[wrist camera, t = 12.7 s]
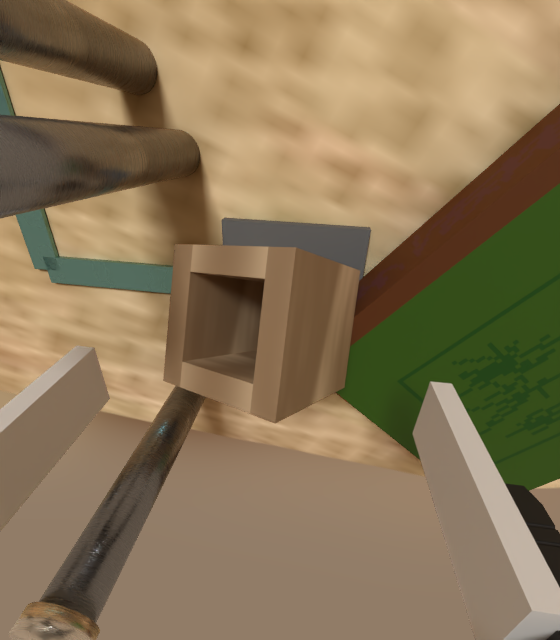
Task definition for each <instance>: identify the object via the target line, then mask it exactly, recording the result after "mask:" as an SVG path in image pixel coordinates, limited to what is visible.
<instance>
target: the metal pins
mask: <svg viewBox="0 0 560 640" xmlns="http://www.w3.org/2000/svg"><path fill="white" fill-rule="evenodd" d="M0 60H2V61H6V62H10V63H14V64H18V65H22V66H26V67H30V68H34V69H38V70H42V71H46V72H50V73H54V74H58V75H62V76H66V77H70V78H74V79H78V80H82V81H86V82H90V83H94V84H97V85H101V86H105V87H109V88H113V89H117V90H121V91H125V92H129V93H133V94H138V95H141V94H145V93H147V92H149V91H150V90H151V89H152V88H153V86H154V84H155V81H156V77H157V67H156V62H155V59H154V56H153V54H152V52H151V51H150V49H149V48H148V47H147V46H146V44H144V43H143V42H142V41H140V40H139V39H137V38H135V37H133V36H131V35H129V34H127V33H126V32H124V31H122V30H120V29H118V28H116V27H114V26H113V25H111V24H109V23H107V22H105V21H103V20H102V19H100V18H98V17H96V16H94V15H92V14H90V13H89V12H87V11H85V10H83V9H81V8H79V7H78V6H76V5H74V4H72V3H70V2H68V1H66V0H0ZM199 161H200V152H199V148H198V145H197V143H196V142H195V140H194V139H193V137H192V136H191V135H189V134H188V133H186V132H184V131H182V130H174V129H162V128H151V127H139V126H127V125H116V124H104V123H93V122H81V121H69V120H58V119H46V118H35V117H23V116H15V114H14V111H13V108H12V104H11V101H10V98H9V95H8V92H7V88H6V85H5V82H4V79H3V76H2V72H1V69H0V218H4V217H8V216H13V215H16V217H17V220H18V223H19V226H20V228H21V231H22V234H23V237H24V240H25V242H26V245H27V248H28V251H29V254H30V257H31V259H32V262H33V265H34V268H35V269H44V270H48V273H49V276H50V279H51V282H52V283H63V284H74V285H85V286H95V287H106V288H117V289H128V290H139V291H150V292H160V293H171V285H172V273H173V266H168V265H156V264H144V263H132V262H120V261H108V260H96V259H84V258H72V257H60V256H58V252H57V249H56V246H55V243H54V240H53V236H52V233H51V230H50V227H49V223H48V220H47V217H46V214H45V211H44V208H48V207H52V206H56V205H61V204H65V203H69V202H74V201H78V200H83V199H87V198H91V197H96V196H100V195H104V194H109V193H113V192H117V191H122V190H126V189H131V188H135V187H139V186H144V185H148V184H152V183H157V182H161V181H165V180H170V179H174V178H179V177H183V176H187V175H190V174H192V173H193V172H194V171H195V170H196V169H197V167H198V165H199ZM205 398H206V397H205V396H202V395H200V394H197V393H194V392H192V391H189V390H186V389H184V388H181V387H179V386H175V388H174V389H173V391H172V392H171V394H170V395H169V397H168V399H167V400H166V402H165V403H164V405H163V407H162V408H161V410H160V411H159V413H158V414H157V416H156V418H155V419H154V421H153V422H152V424H151V425H150V427H149V429H148V430H147V432H146V433H145V435H144V437H143V438H142V440H141V441H140V443H139V445H138V446H137V448H136V449H135V451H134V452H133V454H132V455H131V457H130V459H129V460H128V462H127V464H126V465H125V466H124V468H123V470H122V471H121V473H120V474H119V476H118V478H117V479H116V481H115V483H114V484H113V486H112V487H111V489H110V490H109V492H108V493H107V495H106V497H105V498H104V500H103V501H102V503H101V504H100V506H99V507H98V509H97V511H96V512H95V514H94V515H93V517H92V519H91V520H90V522H89V523H88V525H87V527H86V528H85V530H84V531H83V533H82V534H81V536H80V538H79V539H78V541H77V542H76V544H75V545H74V547H73V549H72V550H71V552H70V553H69V555H68V557H67V558H66V560H65V561H64V563H63V564H62V566H61V567H60V569H59V571H58V572H57V574H56V575H55V577H54V579H53V580H52V582H51V583H50V585H49V586H48V588H47V590H46V591H45V593H44V594H43V596H42V597H41V599H40V601H39V602H32V603H30V604H28V605H27V606H26V608H25V610H24V611H23V613H22V614H21V616H20V617H19V619H18V620H17V622H16V623H15V625H14V626H13V628H12V629H11V631H10V633H9V637H10V638H11V639H12V640H96V639H97V637H98V635H99V633H100V629H99V627H98V625H97V624H96V622H97V620H98V618H99V616H100V614H101V611H102V610H103V607H104V605H105V603H106V601H107V599H108V597H109V595H110V593H111V591H112V589H113V587H114V585H115V583H116V581H117V579H118V577H119V575H120V572H121V570H122V568H123V566H124V564H125V562H126V560H127V558H128V556H129V554H130V552H131V550H132V548H133V545H134V544H135V542H136V540H137V538H138V536H139V533H140V531H141V529H142V527H143V525H144V523H145V521H146V519H147V517H148V515H149V513H150V511H151V509H152V507H153V505H154V503H155V501H156V499H157V497H158V494H159V492H160V490H161V488H162V486H163V484H164V482H165V480H166V478H167V476H168V474H169V472H170V470H171V468H172V466H173V464H174V461H175V460H176V457H177V455H178V453H179V451H180V449H181V447H182V445H183V443H184V441H185V439H186V437H187V435H188V433H189V431H190V429H191V427H192V425H193V423H194V420H195V418H196V416H197V414H198V412H199V410H200V408H201V406H202V404H203V402H204V400H205Z"/></svg>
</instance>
